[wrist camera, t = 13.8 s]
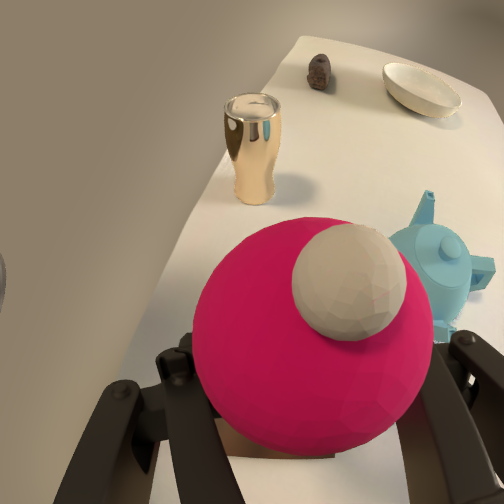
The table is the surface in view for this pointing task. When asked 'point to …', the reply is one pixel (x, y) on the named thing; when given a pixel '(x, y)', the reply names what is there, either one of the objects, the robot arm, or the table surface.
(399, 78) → the serving bowl
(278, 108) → the beer glass
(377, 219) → the table surface
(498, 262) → the table surface
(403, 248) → the teapot
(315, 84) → the perforated stone tool
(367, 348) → the pepper mill
